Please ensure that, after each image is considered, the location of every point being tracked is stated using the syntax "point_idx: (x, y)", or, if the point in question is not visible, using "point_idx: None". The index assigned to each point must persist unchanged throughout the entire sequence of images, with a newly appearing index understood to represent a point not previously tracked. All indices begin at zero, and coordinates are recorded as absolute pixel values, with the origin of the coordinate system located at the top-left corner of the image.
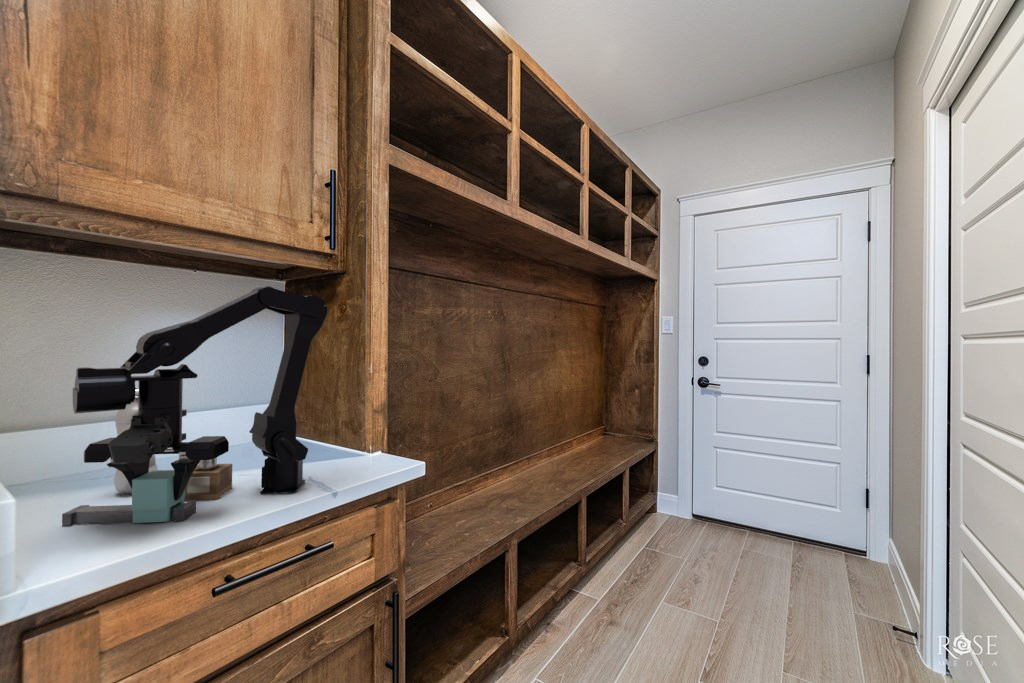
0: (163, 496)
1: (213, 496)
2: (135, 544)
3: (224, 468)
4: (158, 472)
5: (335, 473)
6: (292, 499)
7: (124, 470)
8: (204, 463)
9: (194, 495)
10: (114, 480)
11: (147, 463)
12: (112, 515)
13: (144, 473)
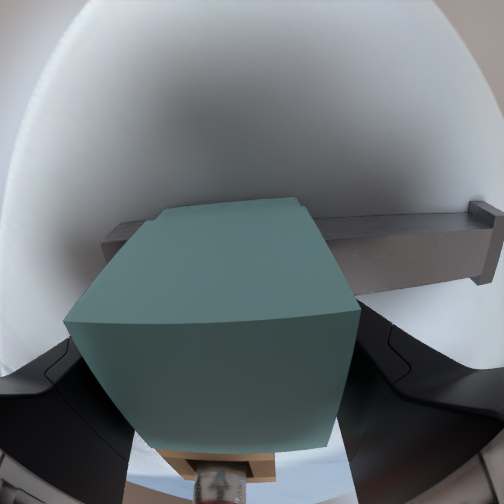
0: (133, 248)
1: None
2: (150, 33)
3: (170, 464)
4: (264, 434)
5: None
6: (17, 345)
7: (466, 379)
8: (213, 483)
9: None
10: None
11: (358, 478)
12: (391, 227)
13: (348, 419)
